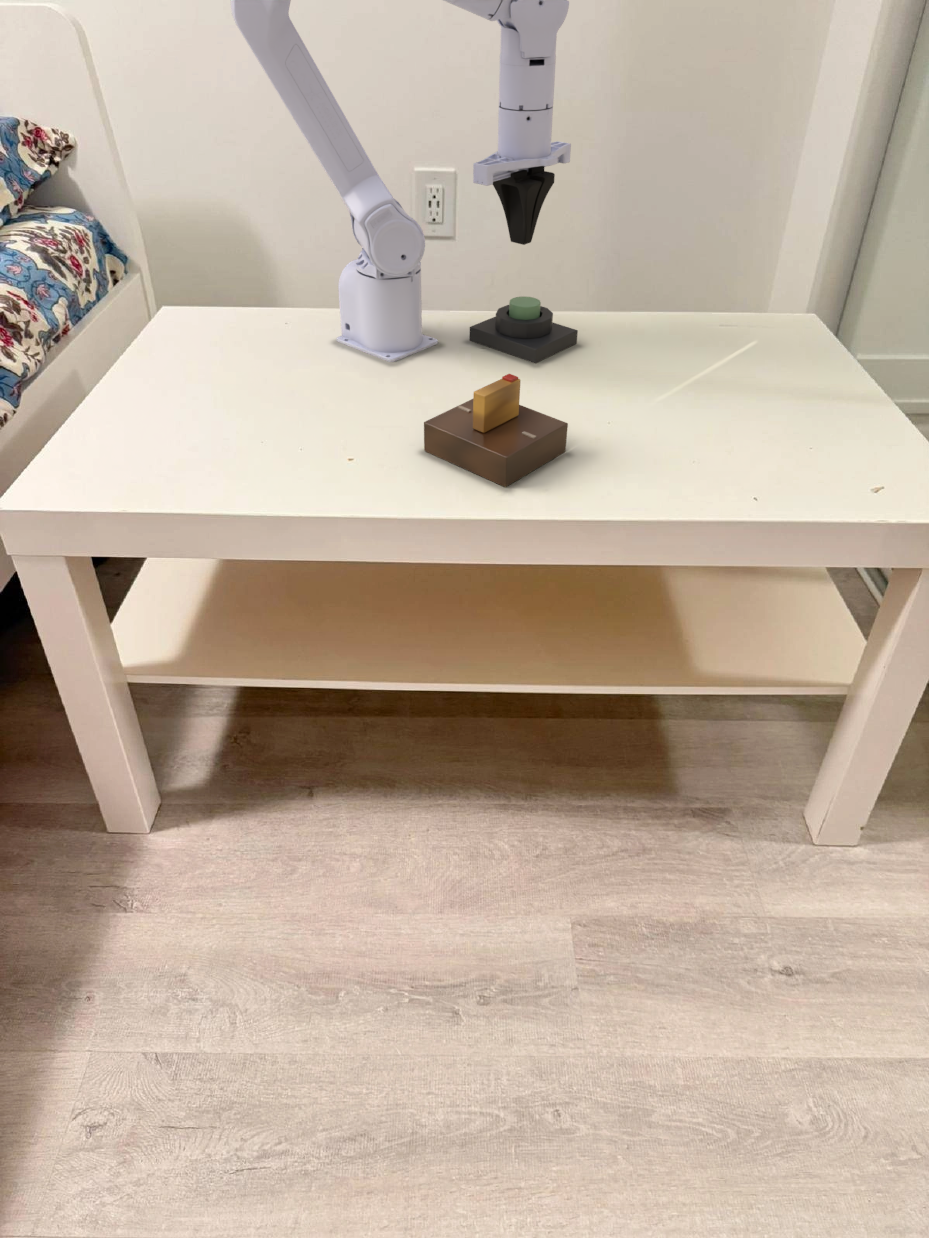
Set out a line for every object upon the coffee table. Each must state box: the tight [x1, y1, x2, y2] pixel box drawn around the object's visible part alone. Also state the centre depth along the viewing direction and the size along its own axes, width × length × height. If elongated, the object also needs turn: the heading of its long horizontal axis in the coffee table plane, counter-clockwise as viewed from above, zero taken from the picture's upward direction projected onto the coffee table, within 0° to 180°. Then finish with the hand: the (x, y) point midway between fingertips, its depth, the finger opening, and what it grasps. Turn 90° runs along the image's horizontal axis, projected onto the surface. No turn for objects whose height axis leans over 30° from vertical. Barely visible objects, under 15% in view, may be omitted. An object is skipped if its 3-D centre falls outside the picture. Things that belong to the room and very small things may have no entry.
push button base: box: [468, 304, 579, 364], centre depth 103 cm, size 10×8×4 cm
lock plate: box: [423, 398, 569, 488], centre depth 82 cm, size 10×9×3 cm
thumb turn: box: [472, 373, 521, 433], centre depth 80 cm, size 5×1×4 cm, turn 138°
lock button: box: [508, 295, 542, 320], centre depth 102 cm, size 4×4×2 cm
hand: (520, 242), depth 101 cm, fingers closed
